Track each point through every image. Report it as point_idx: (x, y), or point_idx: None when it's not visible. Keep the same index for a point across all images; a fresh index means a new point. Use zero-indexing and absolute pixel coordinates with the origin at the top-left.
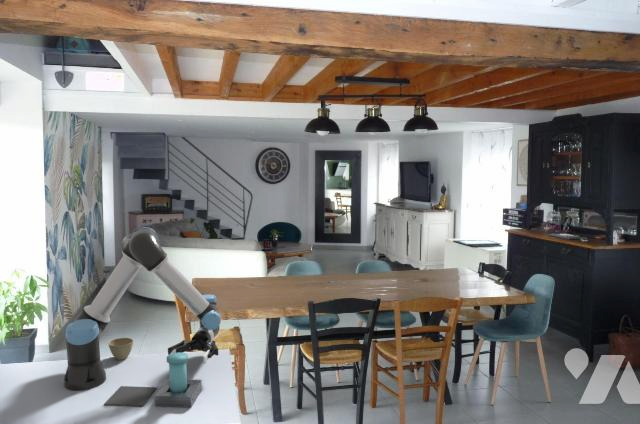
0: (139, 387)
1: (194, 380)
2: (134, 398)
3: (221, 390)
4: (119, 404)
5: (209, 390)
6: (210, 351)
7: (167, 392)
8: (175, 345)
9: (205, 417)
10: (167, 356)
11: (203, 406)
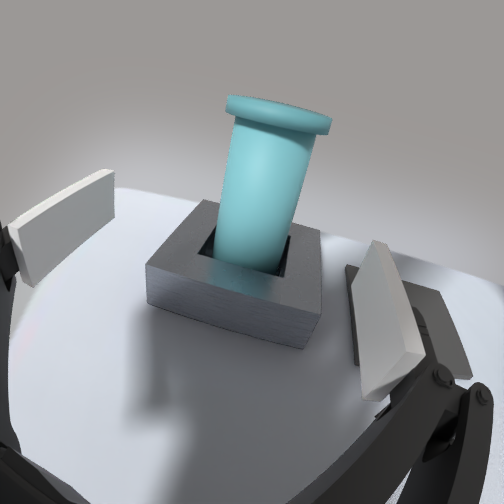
0: None
1: (177, 273)
2: None
3: (74, 281)
4: (405, 281)
5: (115, 295)
6: (7, 239)
7: None
8: (467, 488)
9: (169, 198)
10: (329, 117)
11: (163, 226)
